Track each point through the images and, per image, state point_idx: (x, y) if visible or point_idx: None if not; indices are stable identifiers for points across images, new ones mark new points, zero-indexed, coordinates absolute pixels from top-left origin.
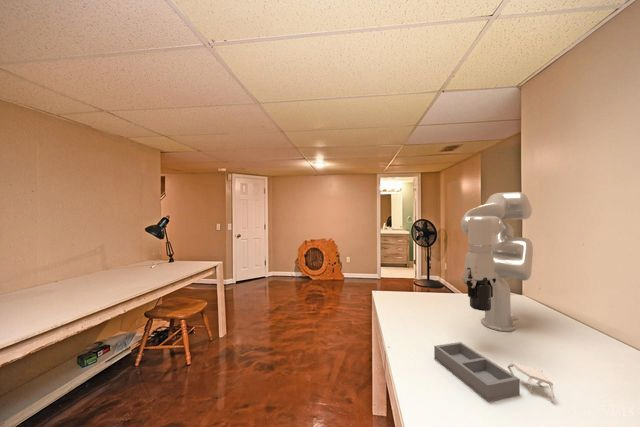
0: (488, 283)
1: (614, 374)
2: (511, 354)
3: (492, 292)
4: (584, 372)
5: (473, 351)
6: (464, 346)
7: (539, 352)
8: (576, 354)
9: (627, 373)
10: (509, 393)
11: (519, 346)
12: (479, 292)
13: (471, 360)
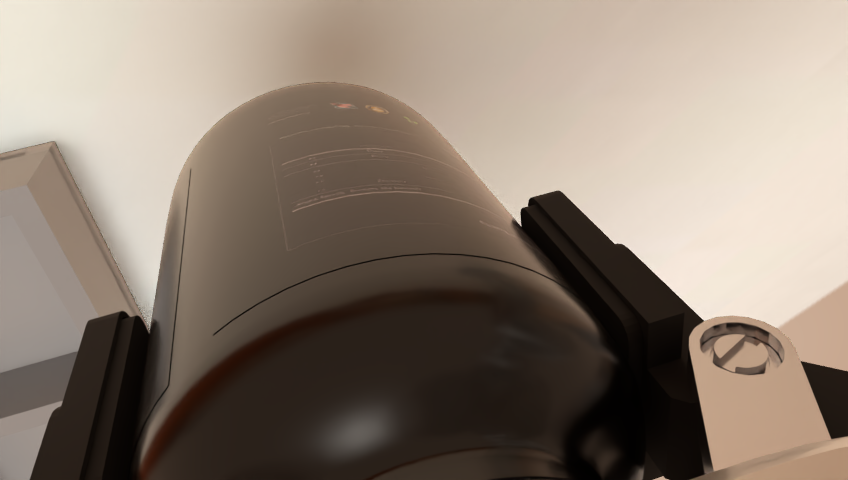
0: (696, 454)
1: (772, 288)
2: (460, 135)
3: None
4: (671, 285)
5: (80, 322)
6: (35, 252)
7: (660, 109)
8: (831, 130)
9: (830, 277)
10: None
11: (612, 26)
12: None
13: (6, 425)
